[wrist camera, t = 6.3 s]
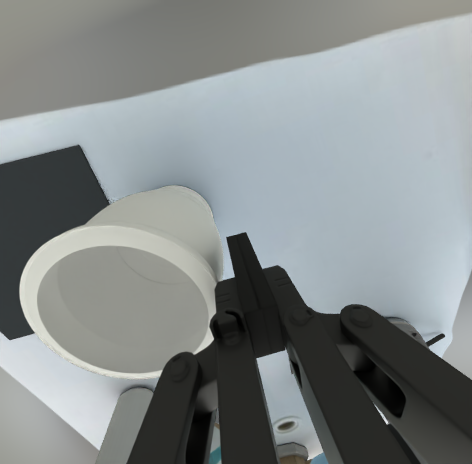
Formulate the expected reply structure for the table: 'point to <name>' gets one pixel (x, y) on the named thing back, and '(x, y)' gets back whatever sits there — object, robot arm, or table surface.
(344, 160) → the table surface
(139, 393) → the beverage can
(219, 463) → the vase
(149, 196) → the jar
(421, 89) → the table surface
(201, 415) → the robot arm
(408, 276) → the table surface
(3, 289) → the mat
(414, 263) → the table surface
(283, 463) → the tankard
